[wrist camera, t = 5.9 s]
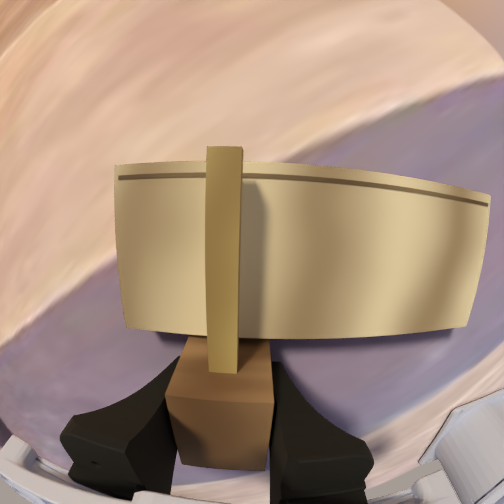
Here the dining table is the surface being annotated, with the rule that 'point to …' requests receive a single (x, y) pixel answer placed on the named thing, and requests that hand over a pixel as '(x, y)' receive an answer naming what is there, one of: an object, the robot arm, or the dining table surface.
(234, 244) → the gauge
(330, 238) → the board
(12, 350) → the dining table surface
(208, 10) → the dining table surface
